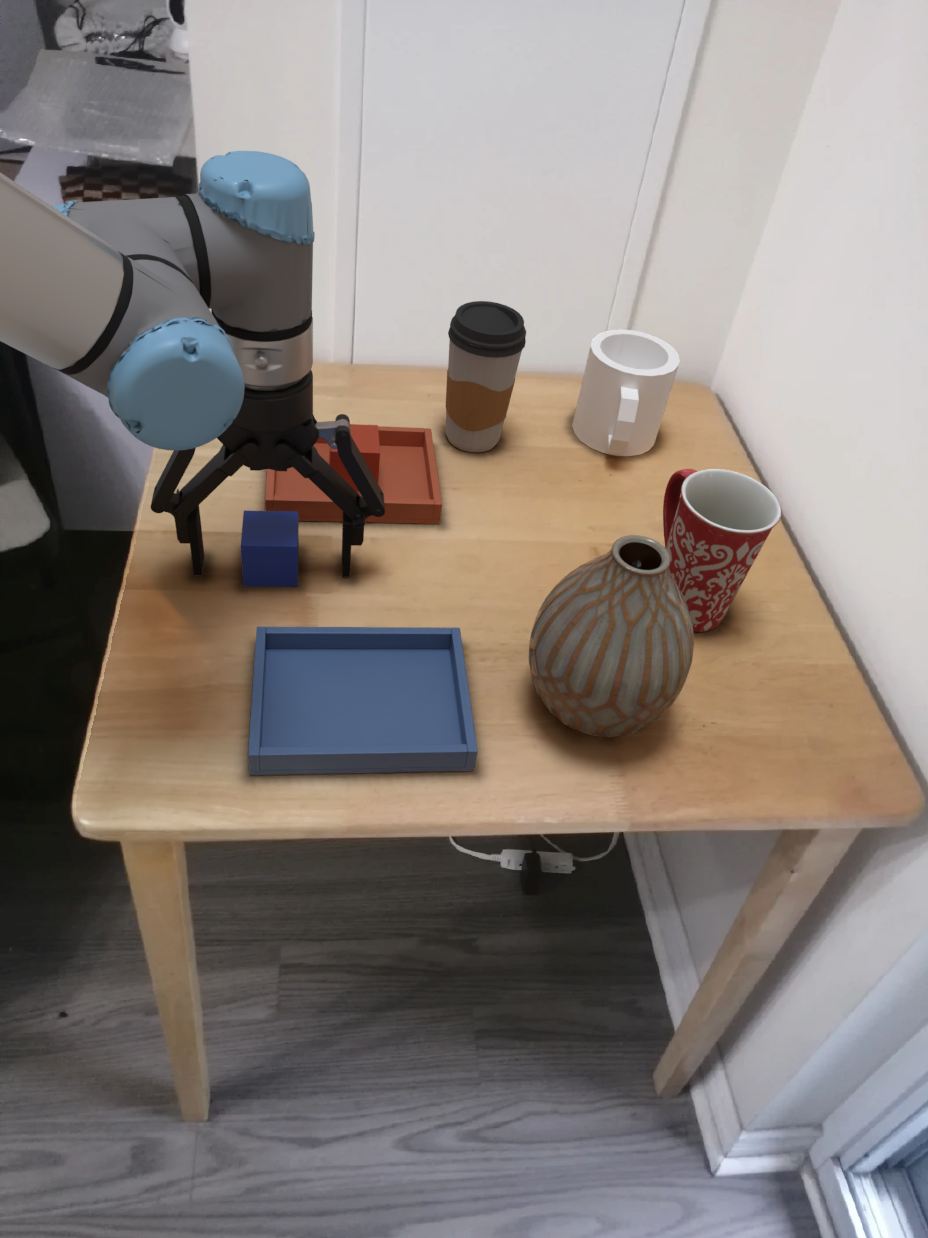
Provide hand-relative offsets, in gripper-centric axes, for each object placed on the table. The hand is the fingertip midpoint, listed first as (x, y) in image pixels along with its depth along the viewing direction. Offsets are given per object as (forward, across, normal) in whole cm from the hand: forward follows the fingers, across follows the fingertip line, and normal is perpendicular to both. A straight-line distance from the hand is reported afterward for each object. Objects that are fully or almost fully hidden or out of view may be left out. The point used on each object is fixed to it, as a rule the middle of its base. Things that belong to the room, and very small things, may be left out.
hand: (273, 567), depth 89 cm
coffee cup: (0, +22, +23) cm, 32 cm away
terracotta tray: (0, +8, +14) cm, 16 cm away
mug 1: (+1, +39, +24) cm, 46 cm away
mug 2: (+1, +40, -3) cm, 40 cm away
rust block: (0, +8, +14) cm, 16 cm away
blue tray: (0, +8, -17) cm, 19 cm away
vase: (0, +28, -17) cm, 33 cm away
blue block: (0, 0, 0) cm, 0 cm away
